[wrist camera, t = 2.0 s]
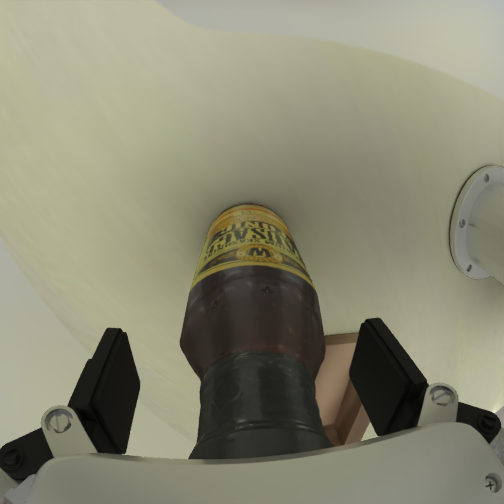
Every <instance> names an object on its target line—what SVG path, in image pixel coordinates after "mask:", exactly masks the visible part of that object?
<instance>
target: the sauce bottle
mask: <svg viewBox="0 0 504 504" xmlns="http://www.w3.org/2000/svg"><path fill="white" fill-rule="evenodd" d="M180 347H181V350H182V351H183V353H184V354H185V356H186V359H187V360H188V362H189V364H190V366H191V367H192V369H193V370H194V372H195V373H196V374H197V376H198V377H199V378H200V380H201V386H200V403H201V409H200V417H199V428H198V437H197V444H196V445H195V447H194V449H193V451H192V453H191V454H190V456H189V458H188V459H240V458H256V457H268V456H278V455H286V454H294V453H302V452H308V451H314V450H321V449H326V448H332V447H335V445H333V444H332V443H331V442H330V440H329V438H328V437H327V436H326V435H325V430H324V428H323V424H322V420H321V417H320V409H319V407H318V404H317V400H316V398H315V397H316V385H315V380H316V377H317V375H318V372H319V369H320V367H321V364H322V362H323V361H324V359H325V352H326V345H325V338H324V332H323V326H322V319H321V313H320V307H319V301H318V296H317V293H316V290H315V288H314V285H313V283H312V280H311V279H310V276H309V274H308V272H307V270H306V267H305V265H304V263H303V261H302V258H301V256H300V254H299V252H298V250H297V248H296V246H295V243H294V241H293V239H292V237H291V235H290V233H289V231H288V229H287V227H286V225H285V223H284V222H283V220H282V219H281V218H279V217H278V216H277V215H276V214H275V213H273V212H272V211H271V210H268V209H267V208H265V207H263V206H260V205H256V204H252V203H249V204H243V205H239V206H238V205H237V206H235V207H232V208H230V209H227V210H225V211H224V212H222V214H221V215H220V216H219V217H218V218H217V219H216V220H215V221H214V222H213V224H212V225H211V227H210V229H209V232H208V235H207V238H206V241H205V244H204V247H203V250H202V253H201V256H200V259H199V262H198V265H197V268H196V272H195V275H194V279H193V282H192V286H191V289H190V293H189V298H188V303H187V307H186V312H185V317H184V323H183V328H182V333H181V338H180Z"/></svg>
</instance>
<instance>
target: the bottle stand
mask: <svg viewBox="0 0 504 504" xmlns="http://www.w3.org/2000/svg"><path fill="white" fill-rule="evenodd" d="M358 335H359V333H352V334H342V335H331V336H324V338H325V345H326V352H325V359H324V361H323V362H322V364H321V367H320V369H319V372H318V375H317V377H316V380H315V385H316V397H315V398H316V400H317V404H318V407H319V409H320V417H321V420H322V424H323V428H324V430H325V435H326V436H327V437H328V438H329V440H330V442H331V443H332V444H333V445H335V447H337V446H342V445H347V444H351V443H356V442H360V441H361V439H362V437H363V435H364V433H365V431H366V429H367V427H368V425H369V423H370V419H369V417H368V415H367V413H366V411H365V409H364V407H363V405H362V402H361V400H360V398H359V396H358V394H357V392H356V390H355V388H354V386H353V384H352V382H351V380H350V377H349V369H350V365H351V361H352V358H353V354H354V350H355V347H356V343H357V339H358Z"/></svg>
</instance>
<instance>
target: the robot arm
mask: <svg viewBox="0 0 504 504" xmlns="http://www.w3.org/2000/svg"><path fill="white" fill-rule="evenodd" d="M450 247H451V252H452V257H453V259H454V262H455V264H456V266H457V267H458V269H459V270H460V271H461V272H463V273H464V274H465V275H466V276H468V277H470V278H472V279H477V280H478V279H484V278H487V277H490V276H493V277H494V278H495V279H497V280H498V281H499V282H501V283H502V284H504V168H503V167H499V166H495V165H492V166H486V167H483V168H481V169H480V170H478V171H477V172H475V173H474V174H473V175H472V176H471V178H470V179H469V180H468V181H467V183H466V184H465V186H464V187H463V189H462V191H461V193H460V195H459V197H458V200H457V202H456V205H455V209H454V212H453V216H452V221H451V229H450ZM349 377H350V380H351V382H352V384H353V386H354V388H355V390H356V392H357V394H358V396H359V398H360V400H361V402H362V405H363V407H364V409H365V411H366V413H367V415H368V417H369V419H370V421H371V423H372V426H373V428H374V430H375V432H376V434H377V435H378V436H380V437H376V438H372V439H368V440H364V441H360V442H356V443H351V444H347V445H342V446H337V447H332V448H326V449H321V450H314V451H308V452H302V453H294V454H286V455H278V456H268V457H256V458H240V459H169V458H152V457H140V456H129V455H122V454H125V453H126V449H127V445H128V440H129V435H130V430H131V426H132V421H133V416H134V412H135V408H136V403H137V399H138V395H139V391H140V380H139V376H138V373H137V370H136V366H135V363H134V359H133V355H132V352H131V348H130V344H129V340H128V336H127V333H126V332H123V331H122V329H121V328H107V329H106V330H105V332H104V334H103V336H102V339H101V341H100V343H99V345H98V347H97V349H96V351H95V353H94V355H93V357H92V359H89V360H88V361H87V363H86V365H85V367H84V369H83V371H82V374H81V376H80V378H79V380H78V382H77V385H76V387H75V389H74V392H73V394H72V396H71V398H70V401H69V403H68V406H61V405H59V406H55V407H52V408H50V409H48V410H47V411H46V412H45V413H44V414H43V416H42V419H41V428H39V429H37V430H35V431H33V432H31V433H29V434H26V435H24V436H22V437H20V438H18V439H16V440H13V441H11V442H9V443H7V444H5V445H4V446H2V448H1V449H0V504H504V428H502V427H501V422H500V420H499V418H498V417H497V415H495V414H494V413H492V412H490V411H487V410H484V409H480V408H477V407H474V406H471V405H468V404H464V403H461V402H458V394H457V392H456V391H455V390H454V388H452V387H451V386H449V385H447V384H445V383H434V384H432V385H430V386H429V385H428V383H427V380H426V378H425V377H424V375H423V374H422V373H421V371H420V370H419V369H418V367H417V366H416V365H415V363H414V362H413V360H412V359H411V358H410V356H409V355H408V354H407V352H406V351H405V350H404V348H403V347H402V346H401V344H400V343H399V342H398V340H397V339H396V338H395V337H394V335H393V334H392V333H391V331H390V330H389V329H388V327H387V326H386V325H385V324H384V322H383V321H382V320H381V319H380V318H371V319H366V320H365V322H364V323H362V324H361V327H360V331H359V335H358V339H357V343H356V347H355V350H354V354H353V358H352V361H351V365H350V369H349Z"/></svg>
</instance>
